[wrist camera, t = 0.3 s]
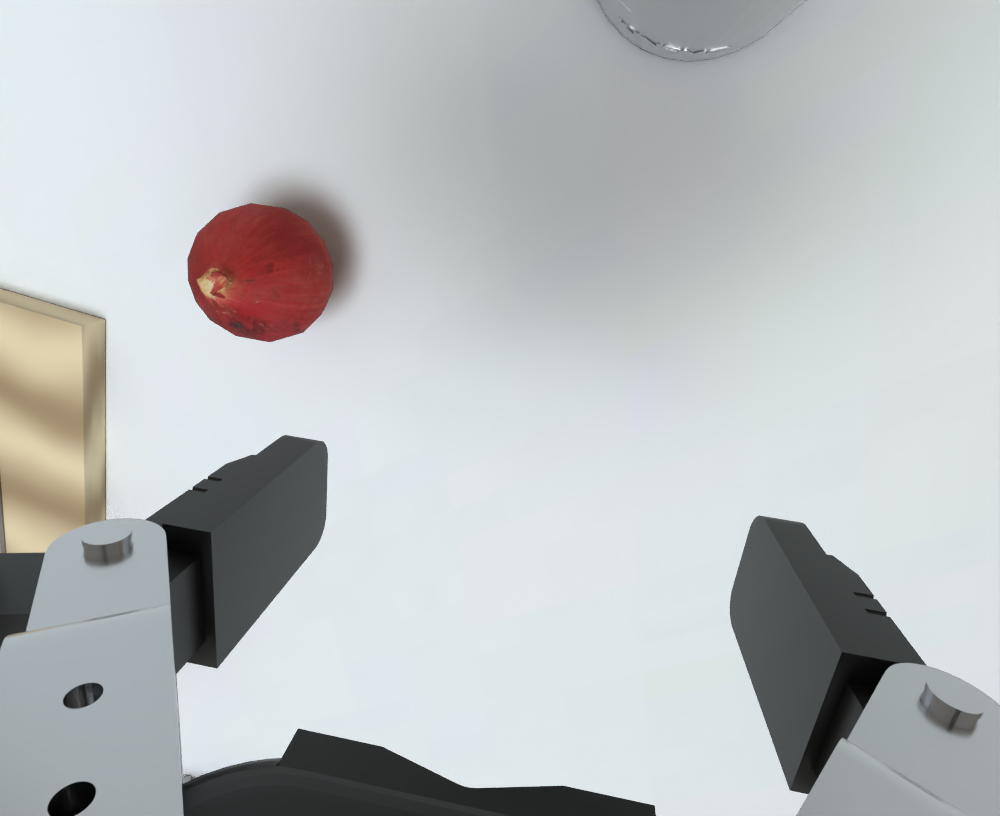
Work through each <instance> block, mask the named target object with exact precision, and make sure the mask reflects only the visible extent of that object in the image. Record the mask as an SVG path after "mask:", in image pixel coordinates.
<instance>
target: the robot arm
mask: <svg viewBox="0 0 1000 816" xmlns="http://www.w3.org/2000/svg"><path fill="white" fill-rule="evenodd" d="M805 1H807V0H598V2H599V4H600V6H601V7H602V9H603V11H604V13H605V15H606V16H607V18H608V19H609V20H610V21H611V22H612V24H613V25H614V26H615V27H616V28H617V29H618V31H619V32H620V33H621V34H622V35H623V36H624V37H626V38H627V39H629V40H630V41H631V42H633V43H634V44H635V45H637V46H638V47H640V48H641V49H643V50H645V51H648V52H650V53H653V54H655V55H658V56H660V57H663V58H668V59H675V60H683V61H695V60H706V59H714V58H717V57H720V56H723V55H726V54H729V53H732V52H735V51H738V50H740V49H742V48H743V47H745V46H747V45H749V44H750V43H752V42H754V41H756V40H757V39H759V38H761V37H763V36H764V35H765V34H766V33H767V32H768V31H770V30H771V29H772V28H773V27H774V26H776V25H777V24H778V23H779V22H780V21H782V20H783V19H784V18H785V17H786V16H788V15H789V14H790V13H791V12H793V11H794V10H795V9H796V8H797V7H799V6H800V5H801V4H803V3H804V2H805ZM327 464H328V453H327V447H326V444H325V443H324V442H323V441H317V440H311V439H305V438H299V437H293V436H287V435H284V436H282V437H280V438H279V439H278V440H276V441H275V442H273V443H272V444H271V445H269V446H268V447H267V448H265V449H264V450H262V451H261V452H260V453H258V454H257V455H250V456H247V457H245V458H242V459H239V460H236V461H233V462H230V463H227V464H225V465H224V466H223V467H221V468H220V469H218V470H217V471H215V472H214V473H212V474H211V475H210V476H208V479H204V480H202V481H201V482H199V483H198V484H196V485H195V486H194V487H193V489H192V490H188V491H186V492H185V493H183V494H182V495H181V496H179V497H178V498H176V499H175V500H173V501H172V502H170V503H169V504H168V505H166V506H165V507H163V508H162V509H160V510H159V511H157V512H156V513H155V514H153V515H152V516H150V517H149V518H147V519H146V520H142V519H132V518H122V519H110V520H104V521H99V522H94V523H90V524H87V525H84V526H81V527H78V528H76V529H73V530H71V531H69V532H67V533H65V534H63V535H62V536H60V537H59V538H57V539H56V540H55V541H53V542H52V543H51V544H50V546H49V547H48V548H47V550H46V552H45V553H0V816H656V814H655V806H654V805H650V804H645V803H640V802H636V801H631V800H626V799H622V798H617V797H612V796H608V795H603V794H599V793H594V792H589V791H585V790H580V789H575V788H571V787H566V786H540V787H504V788H468V787H464V786H461V785H459V784H456V783H454V782H452V781H450V780H448V779H446V778H444V777H442V776H440V775H438V774H436V773H434V772H432V771H430V770H428V769H426V768H424V767H422V766H420V765H418V764H416V763H414V762H412V761H410V760H408V759H406V758H404V757H402V756H400V755H398V754H396V753H394V752H392V751H390V750H388V749H386V748H384V747H381V746H376V745H372V744H367V743H362V742H358V741H353V740H348V739H344V738H339V737H335V736H330V735H325V734H321V733H316V732H311V731H307V730H302V729H298V730H297V732H296V733H295V735H294V737H293V739H292V741H291V742H290V744H289V746H288V748H287V750H286V751H285V753H284V755H283V757H282V758H276V759H264V760H257V761H250V762H245V763H241V764H237V765H233V766H228V767H225V768H222V769H219V770H216V771H213V772H210V773H207V774H204V775H201V776H199V777H197V778H195V779H193V780H190V781H188V782H186V783H184V782H183V767H182V752H181V737H180V722H179V707H178V692H177V678H176V674H177V673H178V671H179V670H180V669H181V668H182V667H183V666H184V665H185V664H186V662H189V663H194V664H199V665H203V666H208V667H213V668H218V667H219V665H220V664H221V663H222V662H223V661H224V659H225V658H226V657H227V656H228V654H229V653H230V652H231V651H232V650H233V648H234V647H235V646H236V645H237V643H238V642H239V641H240V640H241V638H242V637H243V636H244V635H245V634H246V632H247V631H248V630H249V629H250V627H251V626H252V625H253V624H254V623H255V621H256V620H257V619H258V618H259V616H260V615H261V614H262V613H263V611H264V610H265V609H266V608H267V607H268V605H269V604H270V603H271V602H272V600H273V599H274V598H275V597H276V596H277V594H278V593H279V592H280V591H281V589H282V588H283V587H284V586H285V585H286V583H287V582H288V581H289V580H290V578H291V577H292V576H293V575H294V573H295V572H296V571H297V570H298V569H299V567H300V566H301V565H302V564H303V562H304V561H305V560H306V559H307V558H308V556H309V555H310V554H311V553H312V551H313V550H314V549H315V548H316V546H317V545H318V543H319V541H320V539H321V536H322V533H323V530H324V526H325V520H326V501H327ZM873 596H874V595H873V594H872V592H871V591H870V590H869V589H868V587H867V586H866V585H865V583H864V582H863V581H862V579H861V578H860V577H859V575H858V574H856V573H855V572H854V571H852V570H851V569H850V568H848V567H847V566H846V565H844V564H843V563H842V562H841V561H839V560H838V559H837V558H835V557H834V556H832V555H826V553H825V552H824V550H823V549H822V548H821V546H820V545H819V543H818V542H817V541H816V539H815V538H814V536H813V535H812V533H811V532H810V531H809V529H808V528H807V526H806V525H805V524H803V523H800V522H794V521H788V520H782V519H776V518H770V517H764V516H757V517H756V518H755V519H754V521H753V522H752V524H751V527H750V530H749V533H748V537H747V540H746V544H745V547H744V550H743V554H742V557H741V561H740V564H739V568H738V571H737V575H736V578H735V581H734V585H733V589H732V593H731V600H730V618H731V624H732V627H733V630H734V633H735V636H736V639H737V642H738V644H739V647H740V650H741V653H742V656H743V659H744V661H745V664H746V667H747V670H748V673H749V676H750V678H751V681H752V684H753V687H754V690H755V693H756V695H757V698H758V701H759V704H760V707H761V710H762V712H763V715H764V718H765V721H766V724H767V727H768V729H769V732H770V735H771V738H772V741H773V744H774V746H775V749H776V752H777V755H778V758H779V761H780V764H781V766H782V769H783V772H784V775H785V778H786V781H787V783H788V786H789V789H790V790H791V791H796V792H801V793H805V794H808V796H807V798H806V800H805V801H804V803H803V805H802V807H801V808H800V810H799V812H798V814H797V815H796V816H1000V705H999V704H998V703H997V702H995V701H994V700H993V699H992V698H990V697H989V696H988V695H986V694H985V693H984V692H982V691H981V690H979V689H977V688H976V687H974V686H973V685H971V684H969V683H967V682H965V681H964V680H962V679H960V678H958V677H956V676H953V675H951V674H949V673H947V672H944V671H941V670H939V669H936V668H932V667H929V666H927V665H926V664H925V663H924V662H923V660H922V659H921V658H920V656H919V655H918V654H917V652H916V651H915V650H914V648H913V647H912V646H911V644H910V643H909V642H908V640H907V639H906V638H905V636H904V635H903V634H902V632H901V631H900V630H899V628H898V627H897V626H896V624H895V623H894V622H893V620H892V619H891V618H890V617H887V616H886V613H887V612H886V611H885V610H884V608H883V607H882V606H881V604H880V603H879V602H878V600H877V599H873Z"/></svg>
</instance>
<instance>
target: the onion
mask: <svg viewBox="0 0 1000 816" xmlns="http://www.w3.org/2000/svg"><path fill="white" fill-rule="evenodd" d="M188 281H189V284H190V287H191V290H192V292H193V295H194V298H195V300H196V302H197V304H198V305H199V306H200V308H201V309H202V310H203V311H204V313H205V314H206V315H207V317H208V318H209V319H210V320H211V321H213V322H214V323H216V324H218V325H219V326H221V327H222V328H224V329H226V330H227V331H229V332H231V333H232V334H234V335H236V336H239V337H245V338H250V339H256V340H261V341H267V342H272V341H276V340H279V339H283V338H286V337H289V336H293V335H296V334H299V333H303V332H304V331H305V330H306V329H307V328H308V327H309V326H310V325H311V324H312V323H313V322H314V321H315V320H316V319H317V318H318V317H319V316H320V315H321V314H322V312H323V311H324V309H325V307H326V304H327V302H328V299H329V297H330V294H331V292H332V290H333V265H332V262H331V259H330V257H329V254H328V251H327V249H326V246H325V243H324V241H323V240H322V239H321V238H320V236H319V235H318V234H317V233H316V231H315V230H314V229H313V228H312V226H311V225H310V224H309V223H308V221H306V220H304V219H303V218H301V217H299V216H297V215H296V214H294V213H292V212H291V211H289V210H287V209H285V208H279V207H272V206H266V205H259V204H253V203H250V204H247V205H243V206H240V207H237V208H233V209H230V210H227V211H223V212H220V213H218V214H217V215H216V216H215V217H214V218H213V219H212V220H211V221H210V222H209V223H208V224H207V225H206V226H205V227H204V228H202V229H201V230H200V231H199V232H198V233H197V235H196V238H195V240H194V243H193V246H192V248H191V251H190V254H189V256H188Z"/></svg>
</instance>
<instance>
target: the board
mask: <svg viewBox="0 0 1000 816" xmlns="http://www.w3.org/2000/svg"><path fill="white" fill-rule="evenodd" d="M104 520H106V504H105V320H104V319H101V318H98V317H94V316H91V315H88V314H84V313H81V312H78V311H74V310H71V309H68V308H64V307H61V306H57V305H54V304H51V303H47V302H44V301H41V300H37V299H34V298H31V297H27V296H24V295H21V294H17V293H14V292H11V291H7V290H4V289H0V553H45V552H46V550H47V548H48V547H49V546H50V544H51V543H52V542H53V541H55V540H56V539H57V538H59V537H60V536H62V535H63V534H65V533H67V532H69V531H71V530H73V529H76V528H78V527H81V526H84V525H87V524H90V523H94V522H99V521H104Z"/></svg>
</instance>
